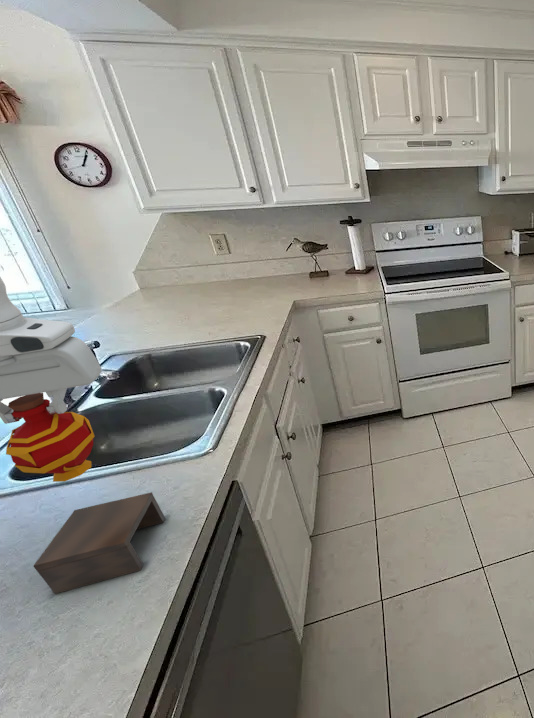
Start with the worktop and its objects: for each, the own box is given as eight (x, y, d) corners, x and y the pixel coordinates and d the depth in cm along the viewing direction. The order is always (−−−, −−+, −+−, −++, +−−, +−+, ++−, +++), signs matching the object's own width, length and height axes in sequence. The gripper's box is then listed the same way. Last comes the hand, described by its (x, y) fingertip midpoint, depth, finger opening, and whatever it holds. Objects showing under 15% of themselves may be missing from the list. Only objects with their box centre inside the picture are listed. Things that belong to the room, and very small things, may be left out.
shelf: (54, 594, 68) (32, 566, 65) (91, 536, 78) (74, 509, 75) (140, 570, 72) (123, 542, 69) (165, 518, 82) (151, 492, 79)
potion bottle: (123, 459, 74) (82, 389, 68) (48, 501, 66) (-6, 425, 59) (92, 445, 78) (51, 377, 72) (18, 482, 70) (-36, 410, 63)
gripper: (-129, 362, 55) (-64, 444, 61) (62, 336, 61) (104, 412, 67) (-88, 344, 61) (-32, 420, 67) (84, 321, 67) (121, 393, 73)
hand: (38, 416), depth 67 cm, fingers closed on potion bottle, 4 cm apart
